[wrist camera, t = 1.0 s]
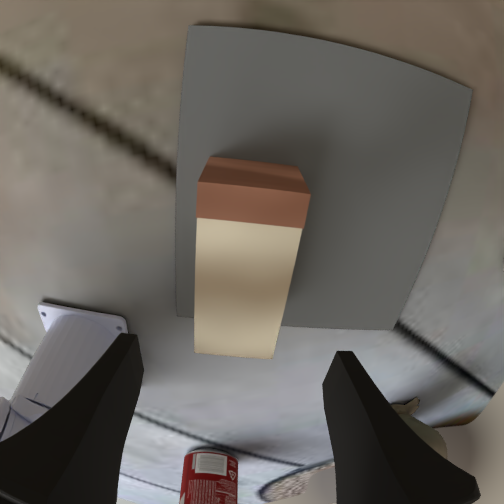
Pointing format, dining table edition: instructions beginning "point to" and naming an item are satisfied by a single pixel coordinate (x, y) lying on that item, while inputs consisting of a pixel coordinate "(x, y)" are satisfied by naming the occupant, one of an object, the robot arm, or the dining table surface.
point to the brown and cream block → (245, 253)
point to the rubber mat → (324, 162)
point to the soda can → (209, 477)
